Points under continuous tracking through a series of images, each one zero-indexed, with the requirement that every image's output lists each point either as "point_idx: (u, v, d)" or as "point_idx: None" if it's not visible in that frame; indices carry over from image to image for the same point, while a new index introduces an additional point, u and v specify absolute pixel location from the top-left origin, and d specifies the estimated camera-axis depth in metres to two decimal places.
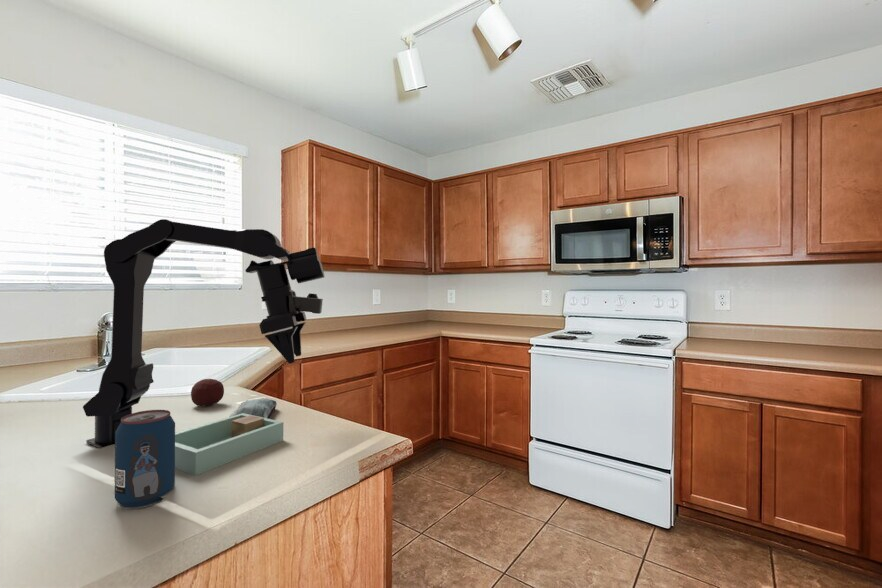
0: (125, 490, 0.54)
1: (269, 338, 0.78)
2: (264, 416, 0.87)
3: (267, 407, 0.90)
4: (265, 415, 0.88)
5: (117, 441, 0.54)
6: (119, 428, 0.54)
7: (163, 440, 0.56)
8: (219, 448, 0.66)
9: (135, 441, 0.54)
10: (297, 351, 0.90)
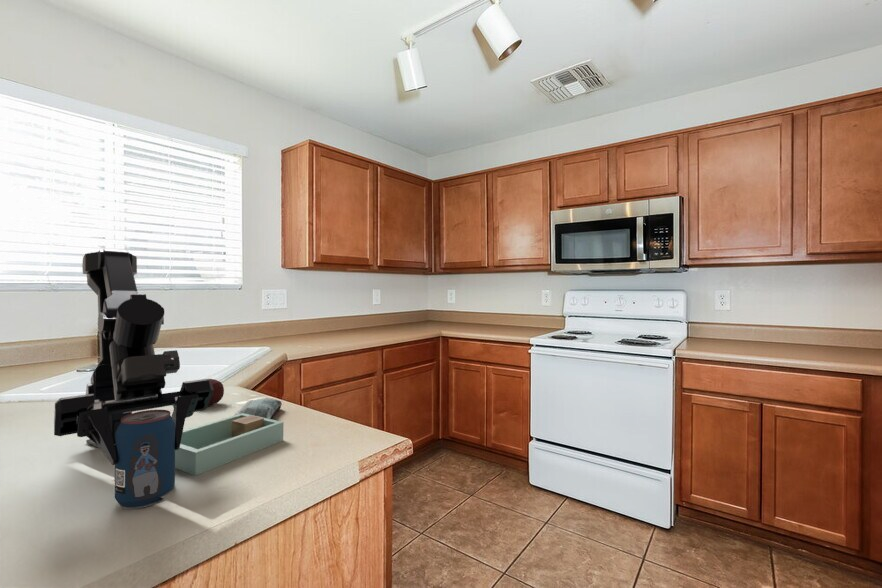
0: (125, 490, 0.54)
1: (89, 436, 0.56)
2: (267, 416, 0.87)
3: (271, 407, 0.90)
4: (268, 415, 0.87)
5: (117, 441, 0.54)
6: (119, 428, 0.54)
7: (163, 439, 0.56)
8: (219, 448, 0.66)
9: (135, 441, 0.54)
10: None
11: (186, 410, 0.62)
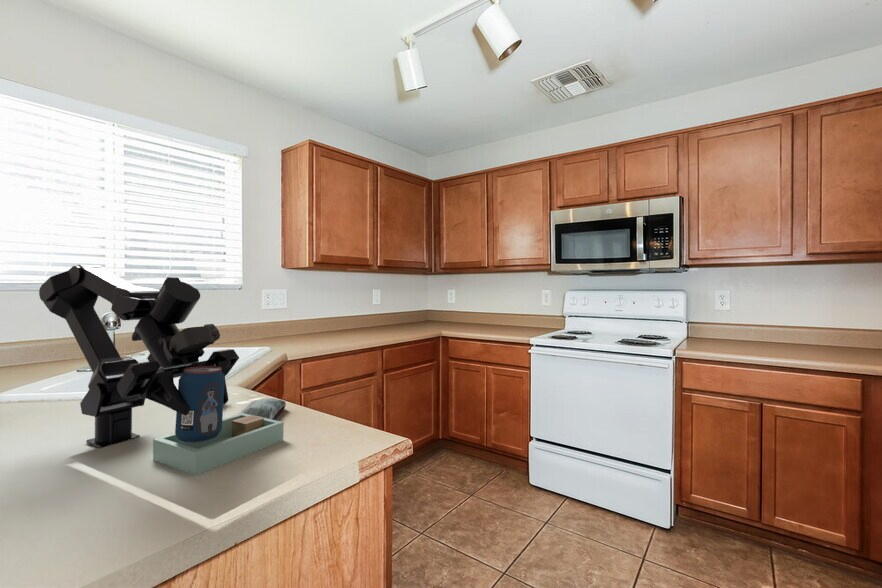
0: (193, 427, 0.66)
1: (149, 397, 0.65)
2: (270, 416, 0.87)
3: (274, 407, 0.90)
4: (271, 415, 0.87)
5: (186, 387, 0.66)
6: (187, 377, 0.66)
7: (221, 387, 0.69)
8: (219, 448, 0.66)
9: (204, 387, 0.66)
10: None
11: (224, 373, 0.74)
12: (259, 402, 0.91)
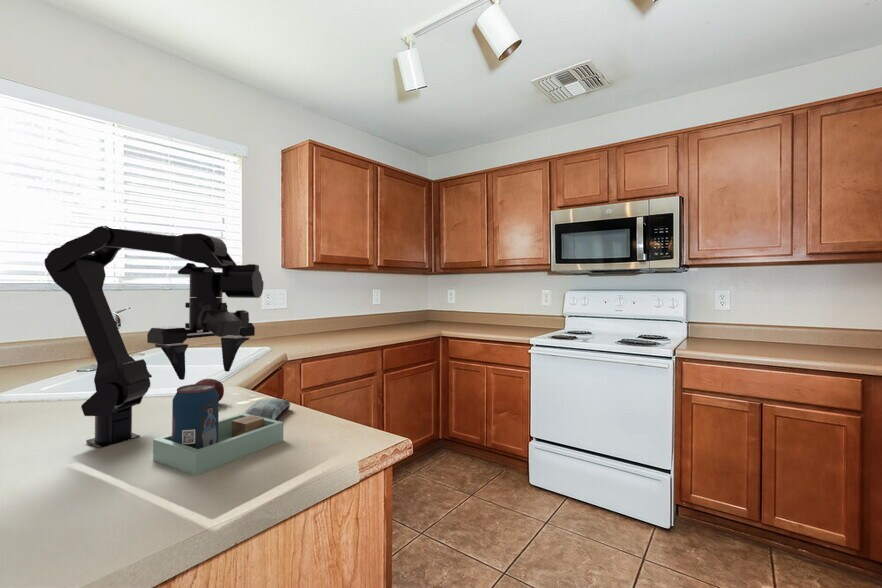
0: (195, 445, 0.67)
1: (162, 348, 0.75)
2: (272, 417, 0.87)
3: (277, 408, 0.90)
4: (273, 416, 0.87)
5: (185, 407, 0.66)
6: (185, 398, 0.67)
7: (217, 403, 0.71)
8: (219, 448, 0.66)
9: (204, 405, 0.68)
10: (226, 366, 0.84)
11: (239, 346, 0.85)
12: (263, 402, 0.91)
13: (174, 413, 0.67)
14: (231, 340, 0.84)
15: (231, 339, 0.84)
